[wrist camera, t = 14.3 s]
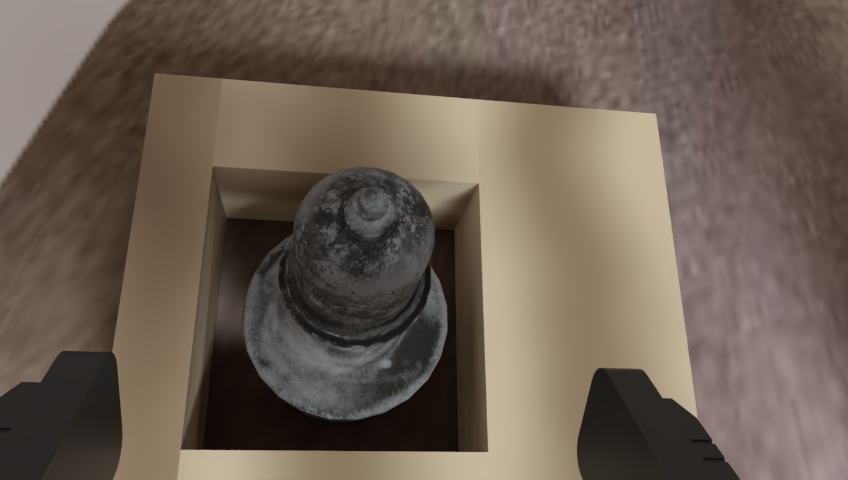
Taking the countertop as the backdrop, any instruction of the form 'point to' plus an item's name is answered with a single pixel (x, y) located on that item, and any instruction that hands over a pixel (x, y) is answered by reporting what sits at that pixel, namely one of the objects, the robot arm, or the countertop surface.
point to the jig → (451, 210)
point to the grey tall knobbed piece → (349, 300)
